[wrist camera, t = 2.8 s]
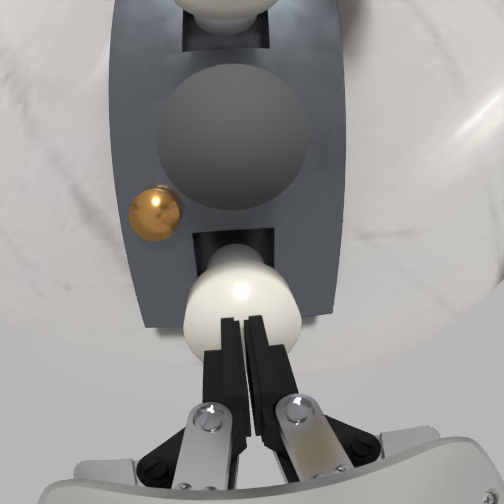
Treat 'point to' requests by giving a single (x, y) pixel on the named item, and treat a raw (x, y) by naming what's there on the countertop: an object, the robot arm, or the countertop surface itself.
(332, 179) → the panel
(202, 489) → the robot arm
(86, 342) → the countertop surface
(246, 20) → the knob
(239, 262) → the knob
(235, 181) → the knob middle
